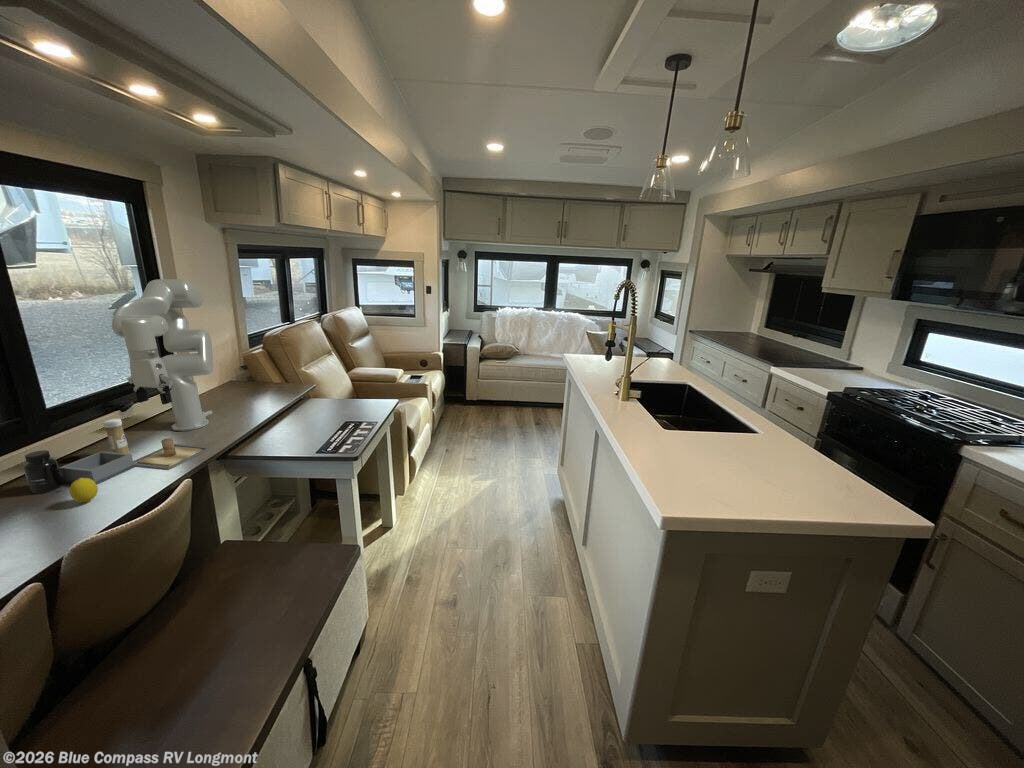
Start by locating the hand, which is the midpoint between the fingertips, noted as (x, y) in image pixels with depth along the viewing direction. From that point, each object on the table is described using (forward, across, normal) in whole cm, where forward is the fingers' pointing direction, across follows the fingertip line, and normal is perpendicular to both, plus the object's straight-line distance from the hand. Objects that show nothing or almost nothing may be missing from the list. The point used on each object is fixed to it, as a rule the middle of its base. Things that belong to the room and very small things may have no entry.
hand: (155, 402), depth 140 cm
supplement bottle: (+22, +16, +24) cm, 36 cm away
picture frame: (+21, 0, -1) cm, 21 cm away
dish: (+21, +10, +14) cm, 28 cm away
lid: (+22, 0, -1) cm, 22 cm away
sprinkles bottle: (+21, +18, +2) cm, 28 cm away
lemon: (+22, -4, +28) cm, 36 cm away
